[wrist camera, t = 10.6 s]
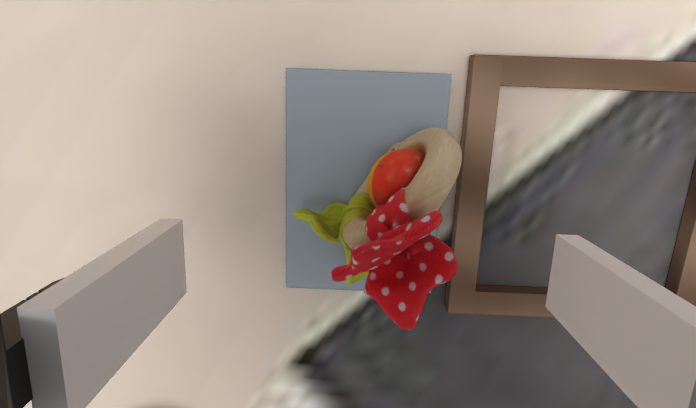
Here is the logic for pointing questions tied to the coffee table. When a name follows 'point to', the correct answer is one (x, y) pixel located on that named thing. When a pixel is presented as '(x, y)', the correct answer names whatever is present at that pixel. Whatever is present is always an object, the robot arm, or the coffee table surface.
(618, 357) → the robot arm
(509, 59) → the puzzle board
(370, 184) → the bird rattle
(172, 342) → the coffee table surface
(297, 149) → the slate mat
